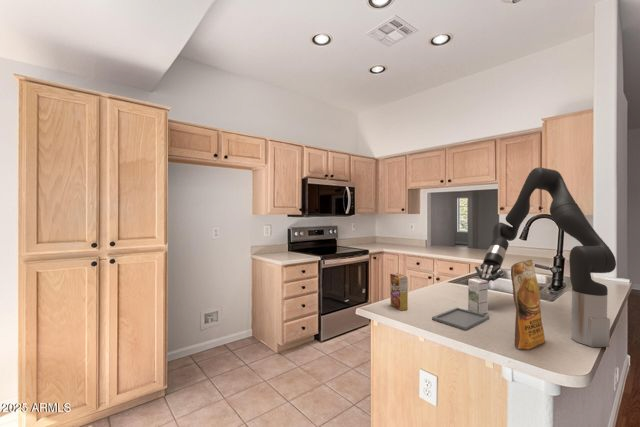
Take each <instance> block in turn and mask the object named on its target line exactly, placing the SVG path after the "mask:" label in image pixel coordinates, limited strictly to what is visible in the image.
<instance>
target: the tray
mask: <svg viewBox="0 0 640 427" xmlns="http://www.w3.org/2000/svg"><path fill="white" fill-rule="evenodd" d="M489 319H490V315H487V314H480V313H476V312H472V311H468V309H464V308H460V307H454V308H451V309H449V310H446V311H445V312H441V313H439V314H436V315H433V316H432V317H431V320H432V321H434V322H438V323H441V324H444V325H447V326H450V327H452V328H453V327H454V328H455V329H459V330H462V331H468V330H471V329H472V328H474V327H476V326H479V325H480V324H483V322H486V321H488V320H489Z"/></svg>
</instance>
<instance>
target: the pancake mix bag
mask: <svg viewBox="0 0 640 427" xmlns="http://www.w3.org/2000/svg"><path fill="white" fill-rule="evenodd" d="M533 262H534V261H533V260H532V259H529V260H528V259H527V260H525V261H520V262H519V261H518V262H516V263H513V265H512V266H511V268H510V279H511V284H512V296H513V302H514V305H515V325H514V326H515V327H514V347H515V348H516V349H517V350H527V351H528V350H532V349H534V348H536V347H538V346H540V345H542V344H545V342H546V340H545V339H546V338H545V331H544V327H543V322H542V318H543V317H542V309H541V296H540V288H539V283H538V278H537V274H536V271H535V267H534V263H533Z"/></svg>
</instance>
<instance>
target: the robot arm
mask: <svg viewBox="0 0 640 427" xmlns="http://www.w3.org/2000/svg"><path fill="white" fill-rule="evenodd" d="M535 190H542V191H547V192H548V194H549V195H550V197H551V199H552V201H551V203H550V206H549V214H550V215H551V218H552V220H553V221H554V223H555V225H556V226H557V227H558V228H559V229H560V230H562V231H563V232H564V233H565V234H567V235H569V236H570V237H572V238H574V239H575V240H577V242H579V243H580V244H581V245H576V246H573V247H572V248H571V250H570V252H569V260H568V261H569V280H570V283H571V326H570V328H571V334H570V335H571V340H573V341H575V342H577V343H579V344H583V345H585V346H589V347H591V348H610V338H611V336H610V334H611V333H610V329H611V328H610V326H611V320H610V318H608V293H609V292H608V290H609V289H608V287H607V286H606V285H605V284H602V283H600V282H596V281H595V280H593V278H592V275H591V274H593V273H594V274H606V273H608V274H609V273H612V272H613V271H614V270H615V269H616V267H617V262H616V261H617V260H616V257H615V255H614V253H613V251H612V250H611V248H610V246H608V244H606V242H605V241H604V240H603V238H602V237H601V236H599V234H598V233H597V232H596V229H594V228H593V227H592V224H590V222H589V220H588V219H587V217H586V216H585V214H584V212H583V210H582V209H581V208H580V207H579V205H578V203H577V202H576V201H575V199H574V198H573V195H572V194H571V192H570V191H569V189H568V186H567V185H566V182H565V181H564V178H563V176H562V173H560V171H558V170H555V169H550V168H546V167H545V168H544V167H535V168H533V169H532V170H531V171H530V172H529V173H528V175H527V177H526V179H525V182H524V184H523V185H522V187H521V191H520V192H519V194H518V196H517V199H516V200H515V203H514V204H513V206H512V207H511V209H510V211H509V212H508V213H507V214H506V216H505V221H506V223H508V224H509V225H508V224H506V223H503V222H497V223H496V224H494V226H493V230H492V241H491V244H490V245H489V248H488V249H487V252H486V254H485V256H484V257H483V261H482V263H481V264H480V266H475V267H474V269H475V271H476V273H477V275H478V277H479V279H482V280H486V281H488V284H489V282H490V281H491V282H495V281H496V280H498V279H500V278H502V277H503V276H505V273H504V271H503V270H502V269H501V267H502V265H503V262H504V260H505V257H506V253H507V250H508V247H509V244H510V243H509V242H510V241H514V240H516V239H517V236H518V233H519V229H520V227H521V225H522V223H523V222H524V220H525V219H526V218H527V216H528V214H529V212H530V211H531V210H530V209H531V205H530V204H531V196H532V194H533V193H534V191H535ZM481 272H482V274H481Z"/></svg>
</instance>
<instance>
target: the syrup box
mask: <svg viewBox="0 0 640 427" xmlns="http://www.w3.org/2000/svg"><path fill="white" fill-rule="evenodd" d="M467 281H468V285H467V286H468V290H467V291H468V292H467V294H468V295H467V297H468V309H467V310H468V311H472V312H476V313H480V314H483V315H487V314H488V313H489V312H488V311H489V309H488V308H489V307H488V306H489V304H488V302H489V300H488V298H489V297H488V296H489V294H488V292H489V290H488V286H489V285H488V284H489V283H488V281H486V280H482V279H480V278H476V277H475V278H469V279H468V280H467Z"/></svg>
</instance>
